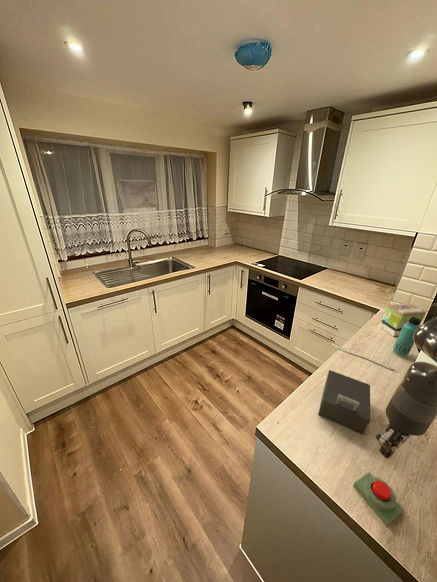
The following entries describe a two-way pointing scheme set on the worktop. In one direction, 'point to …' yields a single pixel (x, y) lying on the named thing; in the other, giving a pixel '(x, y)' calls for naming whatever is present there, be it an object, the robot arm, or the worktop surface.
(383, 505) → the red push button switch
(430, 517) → the worktop surface
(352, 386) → the sandwich lid
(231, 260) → the worktop surface
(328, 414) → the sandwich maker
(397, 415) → the robot arm
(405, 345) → the beverage bottle
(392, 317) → the tea box
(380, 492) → the button
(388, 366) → the butter knife
